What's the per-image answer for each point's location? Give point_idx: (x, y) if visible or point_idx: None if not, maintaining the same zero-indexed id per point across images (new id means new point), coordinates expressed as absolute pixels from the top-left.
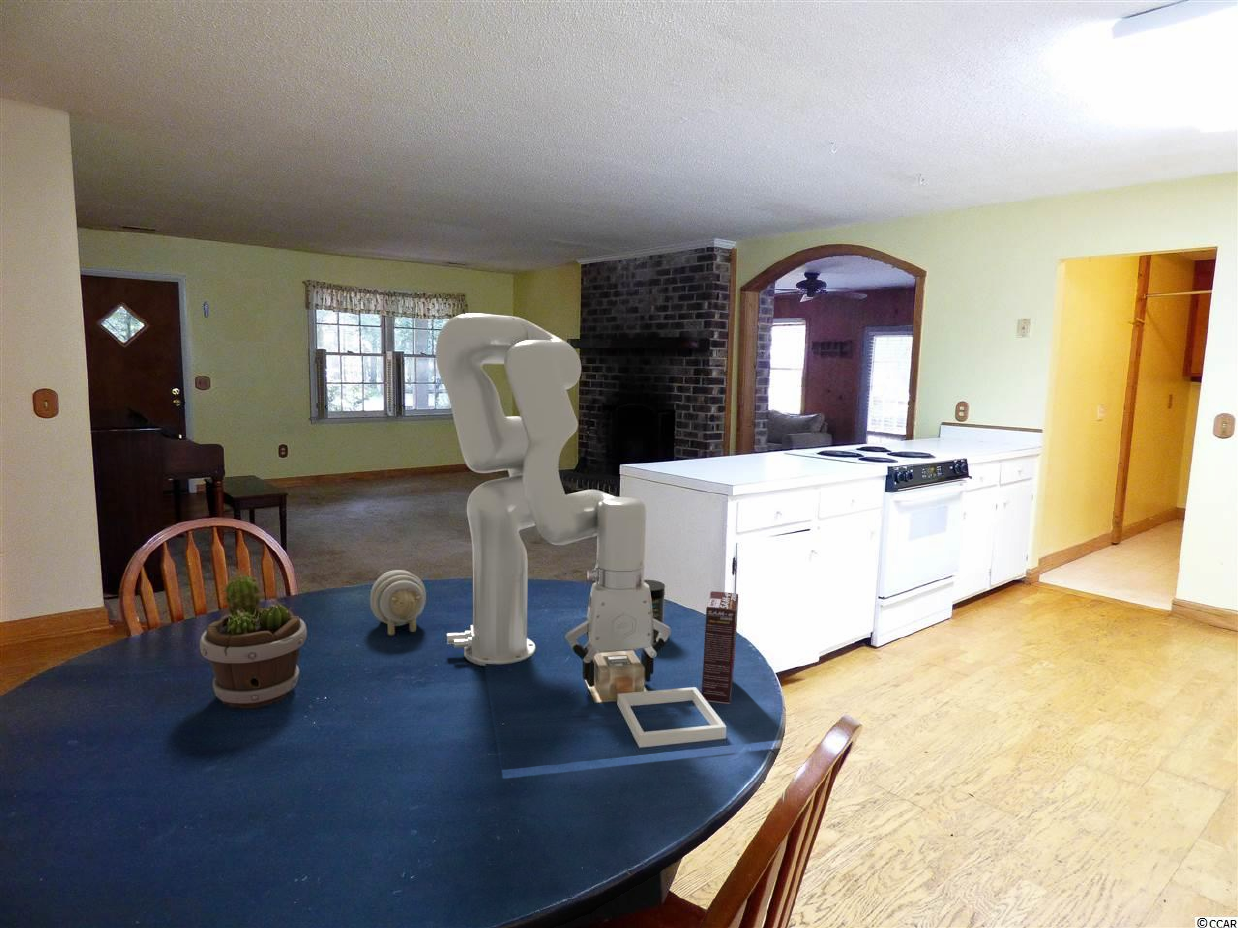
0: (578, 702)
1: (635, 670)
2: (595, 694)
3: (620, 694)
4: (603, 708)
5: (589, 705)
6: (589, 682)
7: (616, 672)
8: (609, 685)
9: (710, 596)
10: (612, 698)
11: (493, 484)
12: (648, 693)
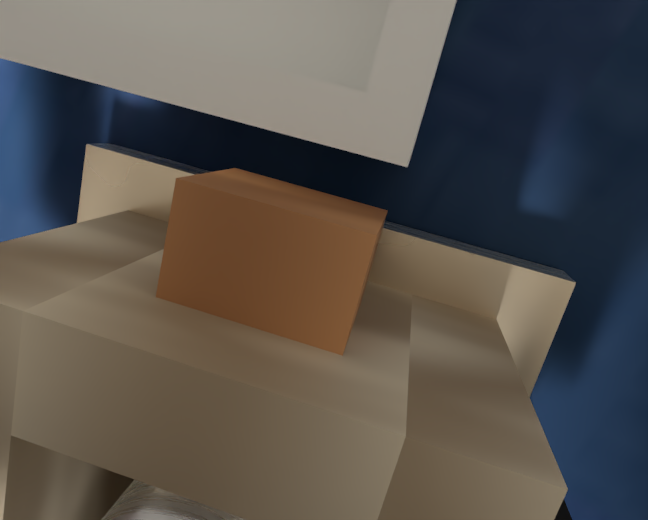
0: (638, 406)
1: (41, 300)
2: None
3: (386, 140)
4: (507, 224)
5: (585, 322)
6: (559, 512)
7: (313, 385)
8: (416, 338)
9: None
10: (392, 278)
11: None
12: (101, 30)
